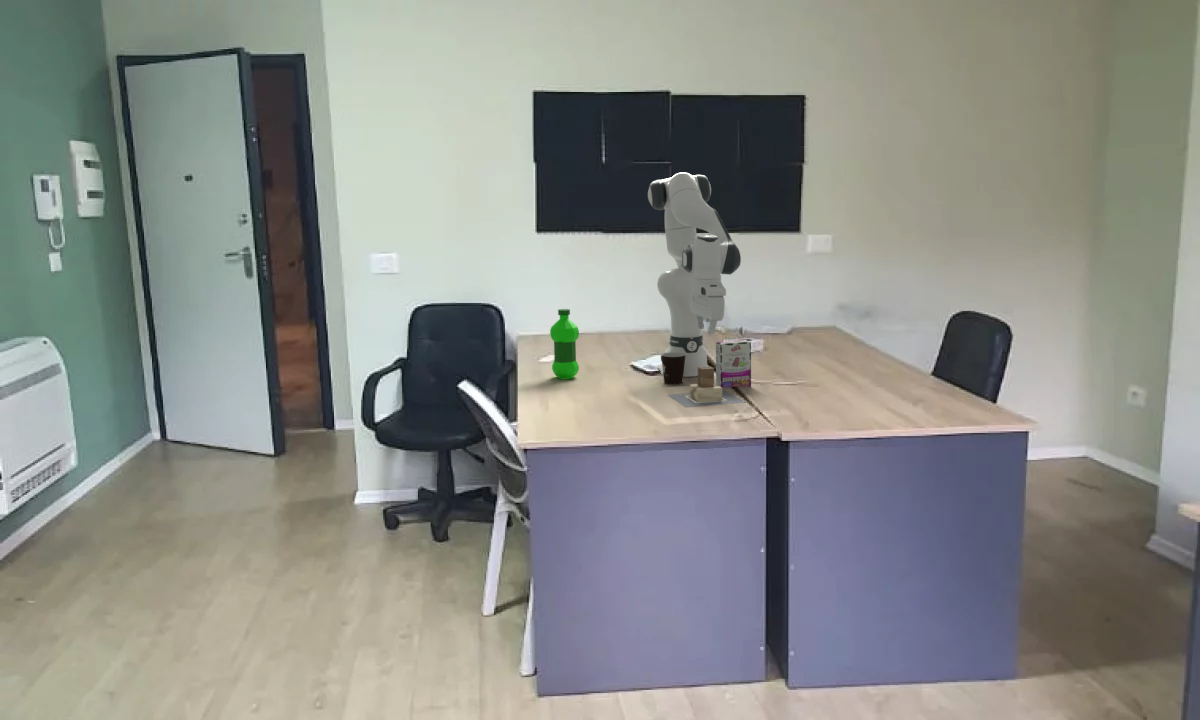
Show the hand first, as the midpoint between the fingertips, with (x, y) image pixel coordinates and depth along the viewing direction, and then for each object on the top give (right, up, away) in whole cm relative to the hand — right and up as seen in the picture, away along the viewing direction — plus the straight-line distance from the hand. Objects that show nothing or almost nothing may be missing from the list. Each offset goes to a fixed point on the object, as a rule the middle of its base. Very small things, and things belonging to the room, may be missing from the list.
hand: (705, 331), depth 294 cm
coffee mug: (-7, -17, +37) cm, 41 cm away
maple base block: (0, -21, +4) cm, 22 cm away
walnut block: (0, -17, +3) cm, 18 cm away
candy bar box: (+12, -19, +23) cm, 33 cm away
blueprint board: (0, -23, +4) cm, 23 cm away
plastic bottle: (-46, -16, +46) cm, 67 cm away
